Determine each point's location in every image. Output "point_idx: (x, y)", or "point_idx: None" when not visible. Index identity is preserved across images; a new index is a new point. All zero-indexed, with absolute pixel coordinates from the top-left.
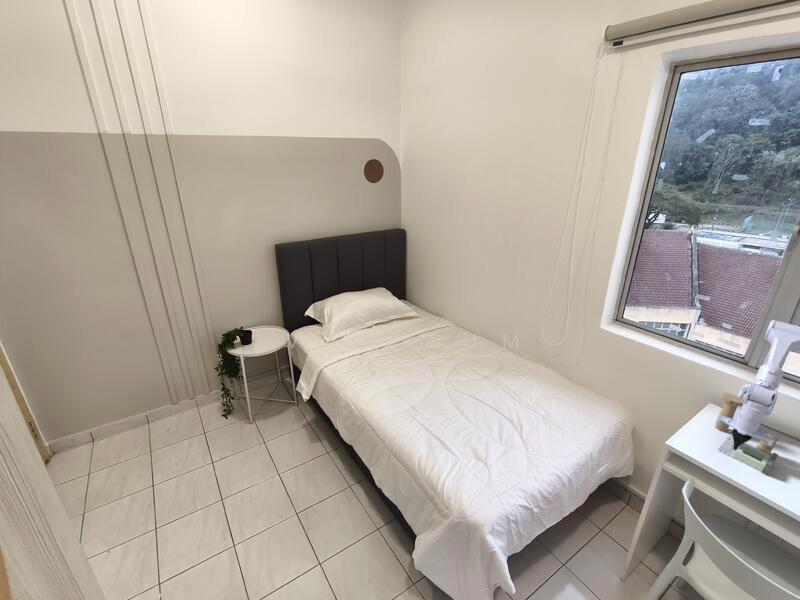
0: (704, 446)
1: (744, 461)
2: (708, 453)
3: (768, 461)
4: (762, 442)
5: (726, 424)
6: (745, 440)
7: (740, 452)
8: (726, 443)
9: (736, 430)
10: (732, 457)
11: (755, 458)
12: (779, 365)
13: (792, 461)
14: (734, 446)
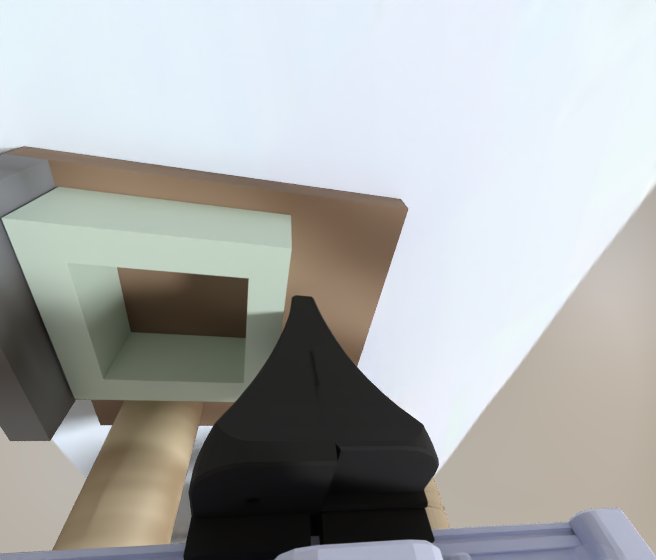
0: (477, 209)
1: (206, 209)
2: (460, 128)
3: None
4: (152, 483)
5: (508, 528)
6: (245, 417)
7: (256, 262)
8: (350, 339)
9: (390, 514)
10: (296, 201)
11: (171, 322)
12: None
13: (55, 438)
14: (315, 312)
